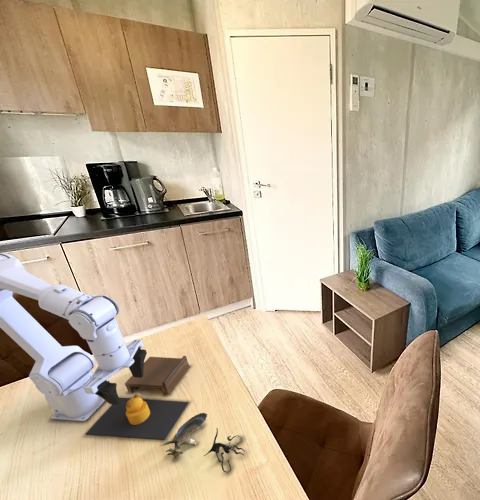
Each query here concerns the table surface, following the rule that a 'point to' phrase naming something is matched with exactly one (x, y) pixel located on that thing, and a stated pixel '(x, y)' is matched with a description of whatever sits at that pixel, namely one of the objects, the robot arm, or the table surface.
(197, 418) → the eagle figurine
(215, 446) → the creature
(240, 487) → the table surface
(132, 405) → the orange tiered figure
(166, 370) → the shelf
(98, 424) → the mat
